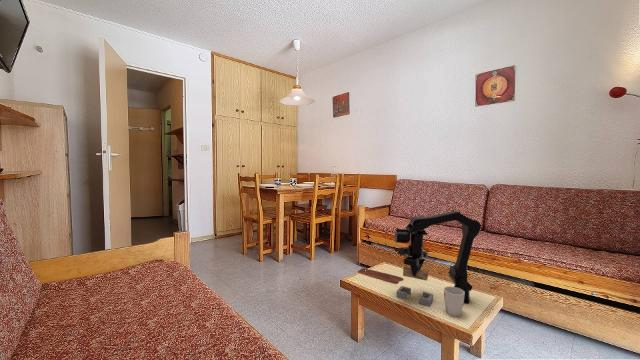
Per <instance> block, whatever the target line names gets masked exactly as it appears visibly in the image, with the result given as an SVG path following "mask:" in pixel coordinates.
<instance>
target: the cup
mask: <svg viewBox="0 0 640 360" xmlns="http://www.w3.org/2000/svg"><path fill="white" fill-rule="evenodd" d="M464 295H465V292H464V291H463V290H462V289H459V288H456V287H454V286H444V287H443V299H444V305H445V309H446V312H447V314H448V315H450V316H453V317H460V315H461V312H462V311H463V306H464Z"/></svg>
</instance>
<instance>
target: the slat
mask: <svg viewBox="0 0 640 360" xmlns="http://www.w3.org/2000/svg"><path fill="white" fill-rule="evenodd" d="M402 276H403V277H407V278H413V279H415V280H416V279H417V280H422V281H426V282H427V281H428V278H429V271H428V270H425V269H418V271H417V274H416V276H413V274H412V270H411V267H409V266H404V267H403V268H402Z"/></svg>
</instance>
